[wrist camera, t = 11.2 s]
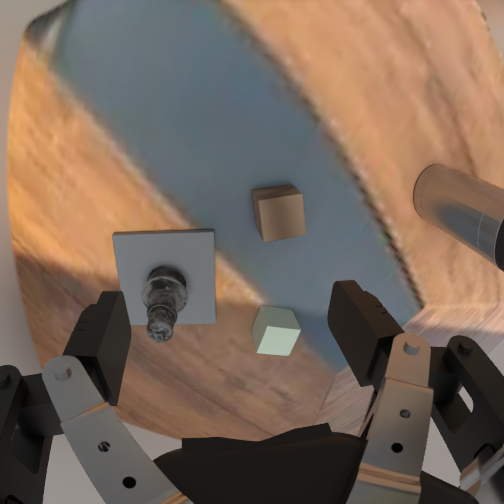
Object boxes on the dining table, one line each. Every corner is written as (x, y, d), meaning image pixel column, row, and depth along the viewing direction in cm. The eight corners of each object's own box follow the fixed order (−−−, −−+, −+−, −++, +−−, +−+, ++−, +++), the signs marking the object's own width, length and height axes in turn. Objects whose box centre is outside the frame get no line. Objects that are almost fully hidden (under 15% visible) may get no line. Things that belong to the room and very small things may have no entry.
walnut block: (290, 183, 39) (302, 193, 34) (293, 220, 41) (305, 234, 36) (251, 189, 38) (258, 200, 34) (256, 227, 40) (263, 242, 36)
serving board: (213, 229, 40) (214, 232, 39) (215, 319, 45) (215, 323, 45) (113, 232, 38) (112, 235, 37) (129, 320, 43) (128, 324, 42)
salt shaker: (168, 308, 42) (163, 370, 32) (136, 282, 40) (119, 341, 29) (197, 282, 41) (199, 342, 31) (164, 254, 39) (153, 309, 28)
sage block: (291, 309, 47) (300, 330, 43) (281, 334, 49) (288, 355, 44) (260, 305, 46) (267, 326, 41) (251, 331, 48) (256, 352, 43)
